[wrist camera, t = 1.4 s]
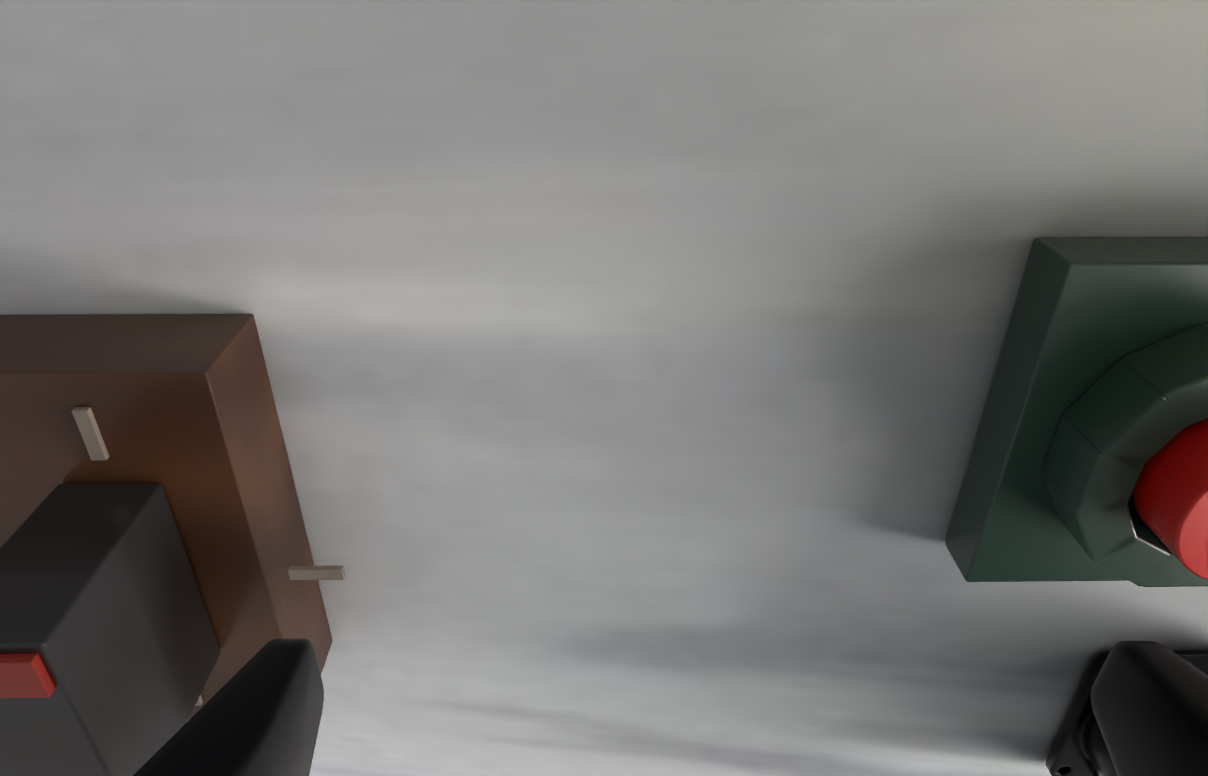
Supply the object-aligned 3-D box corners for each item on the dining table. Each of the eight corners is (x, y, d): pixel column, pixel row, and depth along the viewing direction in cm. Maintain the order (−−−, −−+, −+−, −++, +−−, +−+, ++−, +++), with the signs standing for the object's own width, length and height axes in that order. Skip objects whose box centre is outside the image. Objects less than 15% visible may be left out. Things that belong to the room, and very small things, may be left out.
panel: (396, 640, 27) (375, 723, 24) (27, 644, 26) (-37, 729, 24) (337, 312, 21) (299, 374, 18) (-147, 314, 20) (-260, 377, 18)
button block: (1228, 540, 25) (1316, 627, 22) (943, 543, 25) (992, 630, 22) (1391, 235, 20) (1533, 293, 17) (1033, 236, 20) (1114, 295, 17)
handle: (222, 652, 22) (131, 839, 18) (131, 654, 22) (18, 841, 18) (162, 481, 19) (35, 655, 15) (57, 482, 19) (-103, 656, 15)
